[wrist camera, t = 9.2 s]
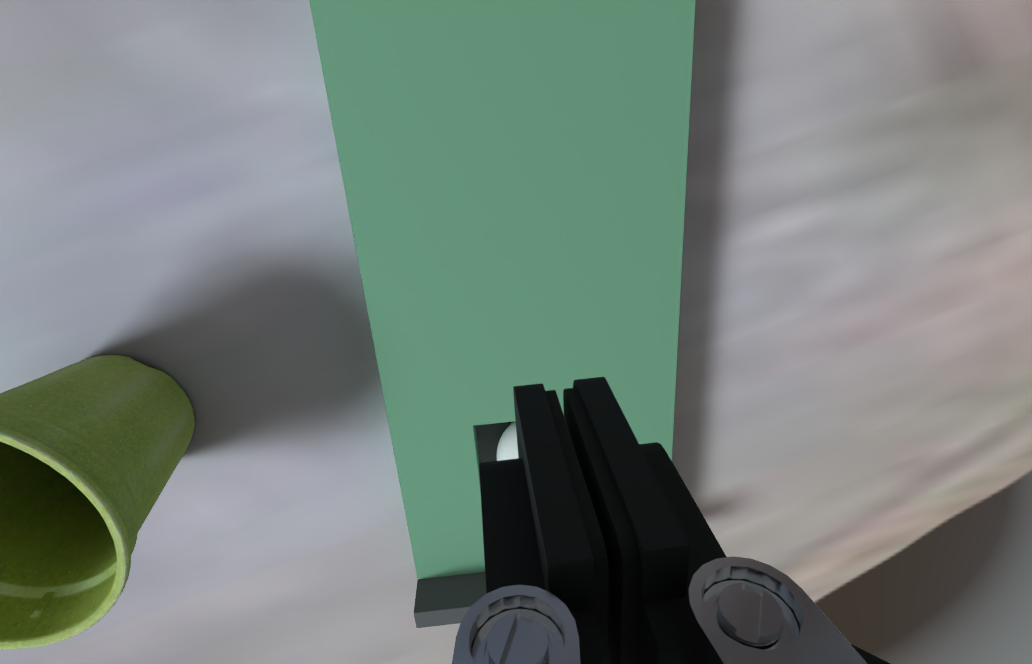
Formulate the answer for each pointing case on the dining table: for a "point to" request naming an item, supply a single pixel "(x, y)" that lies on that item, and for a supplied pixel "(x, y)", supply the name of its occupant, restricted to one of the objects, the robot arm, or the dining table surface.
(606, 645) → the robot arm
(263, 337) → the dining table surface
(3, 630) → the plant pot
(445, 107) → the green
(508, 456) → the ball
